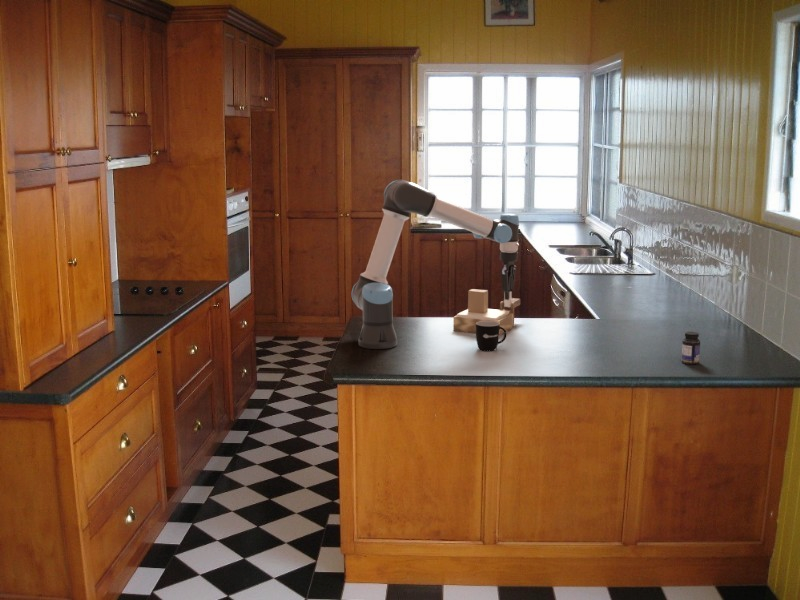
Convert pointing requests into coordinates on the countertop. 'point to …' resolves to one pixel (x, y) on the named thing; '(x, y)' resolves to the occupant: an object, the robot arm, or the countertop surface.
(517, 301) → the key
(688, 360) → the pill bottle
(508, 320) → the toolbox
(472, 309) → the lid
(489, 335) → the mug
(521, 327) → the countertop surface
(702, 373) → the countertop surface
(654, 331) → the countertop surface
